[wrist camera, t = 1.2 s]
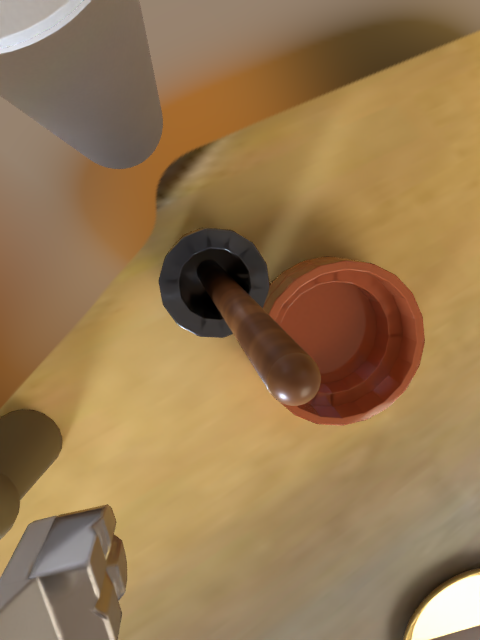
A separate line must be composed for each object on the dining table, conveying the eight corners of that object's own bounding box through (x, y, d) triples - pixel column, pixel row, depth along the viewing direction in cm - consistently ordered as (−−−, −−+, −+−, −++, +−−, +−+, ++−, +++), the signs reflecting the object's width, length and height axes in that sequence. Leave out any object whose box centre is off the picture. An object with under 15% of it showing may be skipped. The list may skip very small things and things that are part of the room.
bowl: (218, 336, 37) (224, 354, 32) (323, 224, 36) (347, 223, 31) (320, 425, 40) (341, 455, 35) (419, 324, 39) (456, 339, 34)
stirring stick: (190, 271, 35) (263, 395, 14) (206, 253, 34) (304, 352, 14) (208, 286, 35) (301, 426, 15) (224, 269, 35) (341, 385, 15)
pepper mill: (76, 444, 38) (34, 529, 27) (24, 484, 38) (-38, 585, 27) (28, 396, 36) (-37, 466, 26) (-26, 438, 36) (-113, 525, 26)
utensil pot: (149, 272, 35) (135, 289, 26) (204, 210, 35) (212, 204, 25) (209, 324, 37) (217, 359, 27) (263, 266, 36) (291, 280, 27)
